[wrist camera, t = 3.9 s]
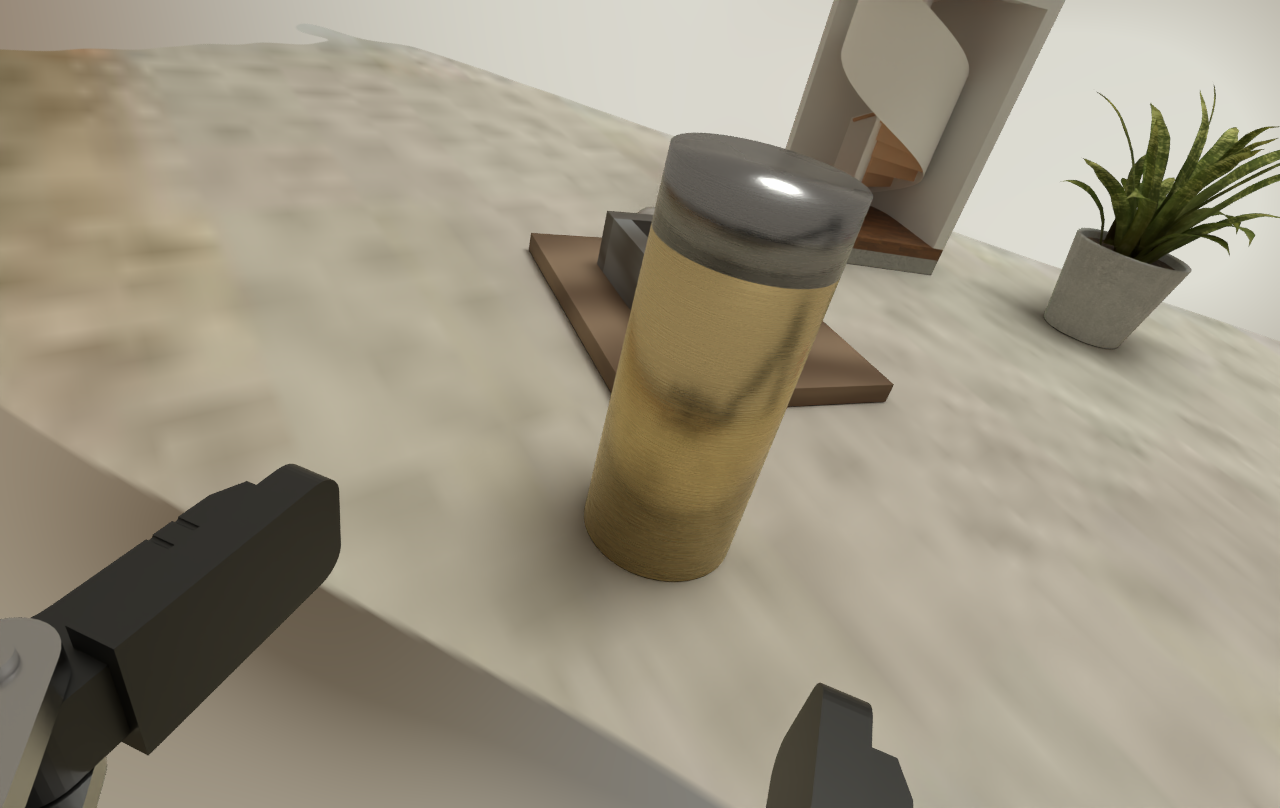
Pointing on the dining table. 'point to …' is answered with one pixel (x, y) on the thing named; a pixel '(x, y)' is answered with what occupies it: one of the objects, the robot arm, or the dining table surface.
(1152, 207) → the house plant
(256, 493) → the robot arm
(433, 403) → the dining table surface
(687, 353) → the capped cylinder
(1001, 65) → the white tall stand
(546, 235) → the socket base
